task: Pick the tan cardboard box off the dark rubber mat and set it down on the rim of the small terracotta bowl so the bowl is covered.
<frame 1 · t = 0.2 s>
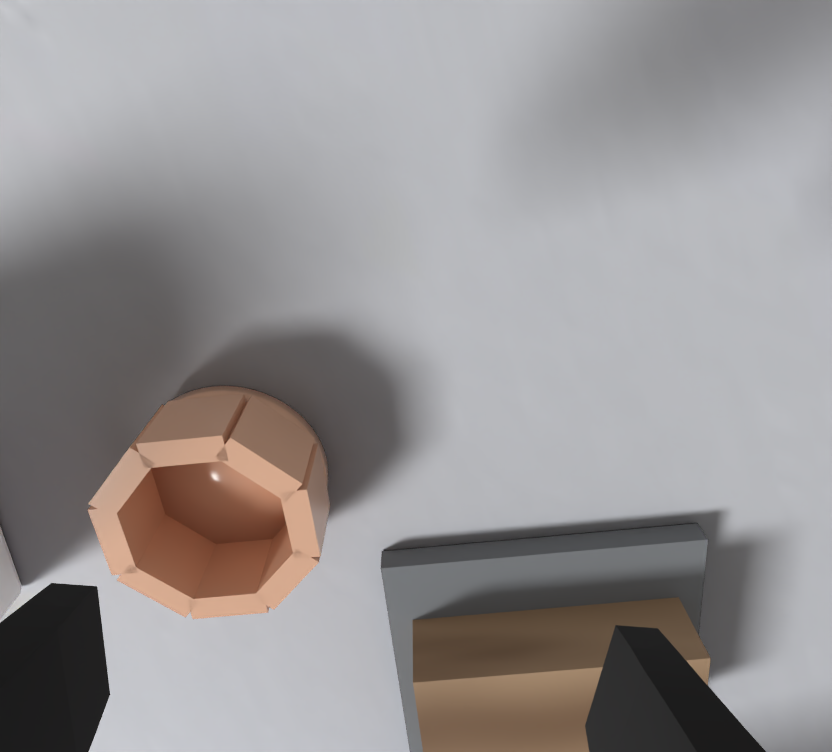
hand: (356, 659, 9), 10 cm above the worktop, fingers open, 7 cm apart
tan cardboard box: (546, 671, 22), point 1 cm above the worktop, touching mat
mat: (542, 652, 23), on the worktop
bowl: (234, 470, 19), on the worktop
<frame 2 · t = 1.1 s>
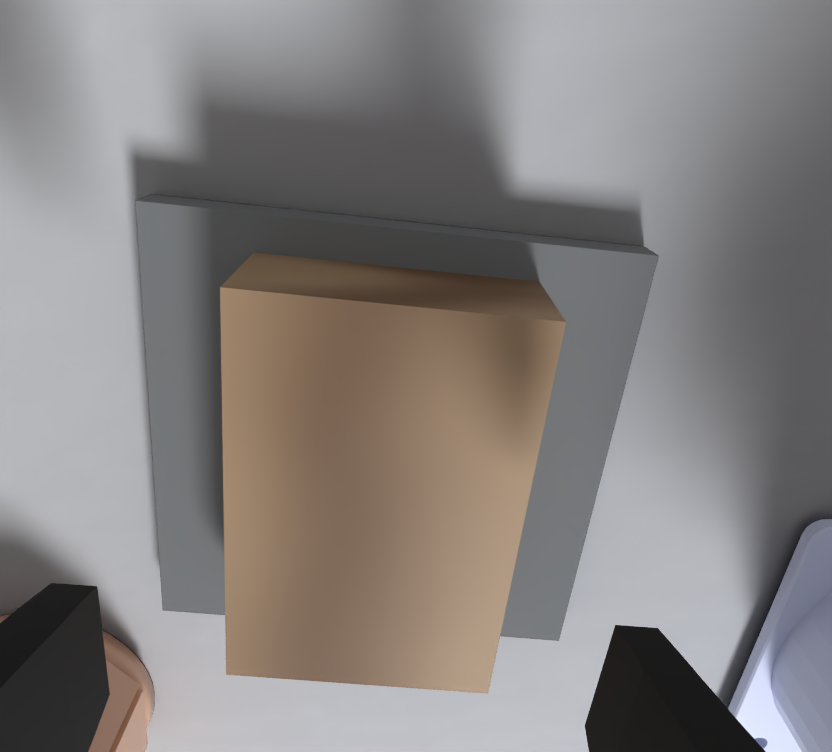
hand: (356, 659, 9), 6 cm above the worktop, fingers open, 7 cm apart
tan cardboard box: (380, 454, 14), point 1 cm above the worktop, touching mat
mat: (381, 437, 15), on the worktop
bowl: (54, 688, 18), on the worktop
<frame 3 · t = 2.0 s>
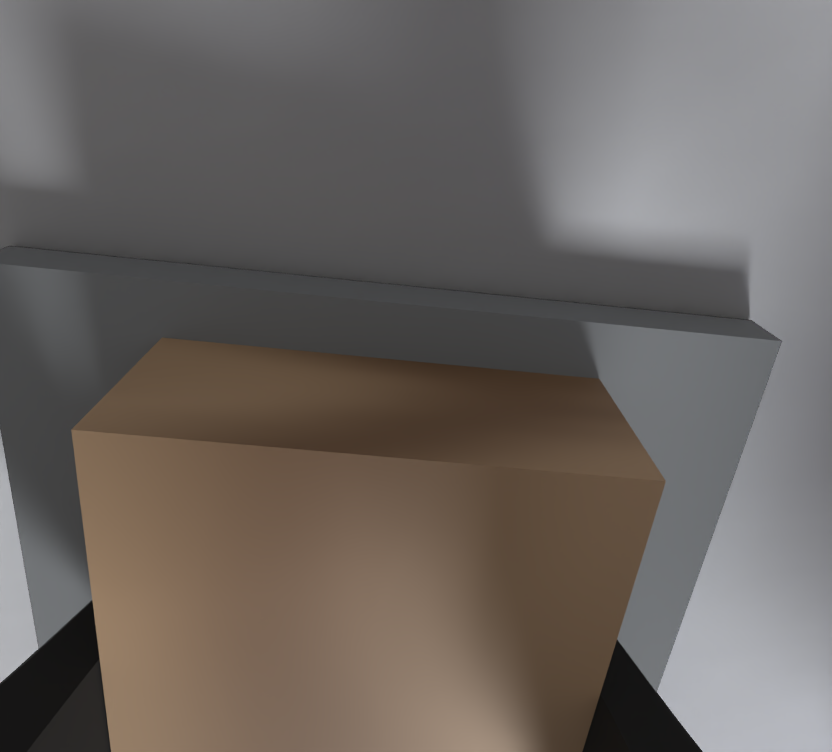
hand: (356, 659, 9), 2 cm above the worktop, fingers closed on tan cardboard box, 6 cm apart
tan cardboard box: (360, 612, 10), point 1 cm above the worktop, touching gripper, mat
mat: (364, 576, 11), on the worktop
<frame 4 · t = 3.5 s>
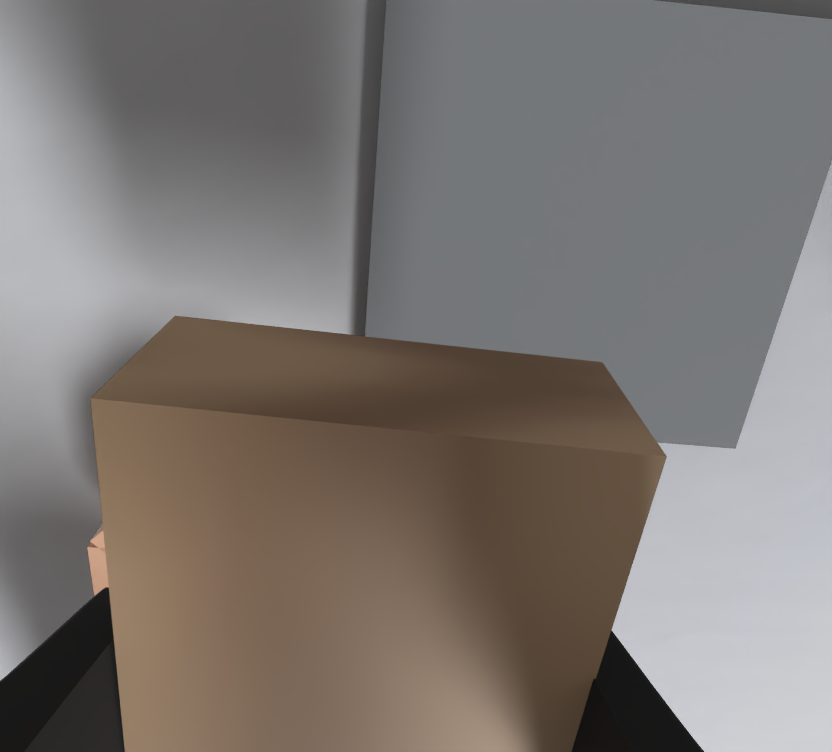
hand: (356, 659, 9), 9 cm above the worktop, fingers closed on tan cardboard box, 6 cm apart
tan cardboard box: (364, 590, 10), point 8 cm above the worktop, touching gripper
mat: (579, 237, 16), on the worktop
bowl: (235, 516, 19), on the worktop
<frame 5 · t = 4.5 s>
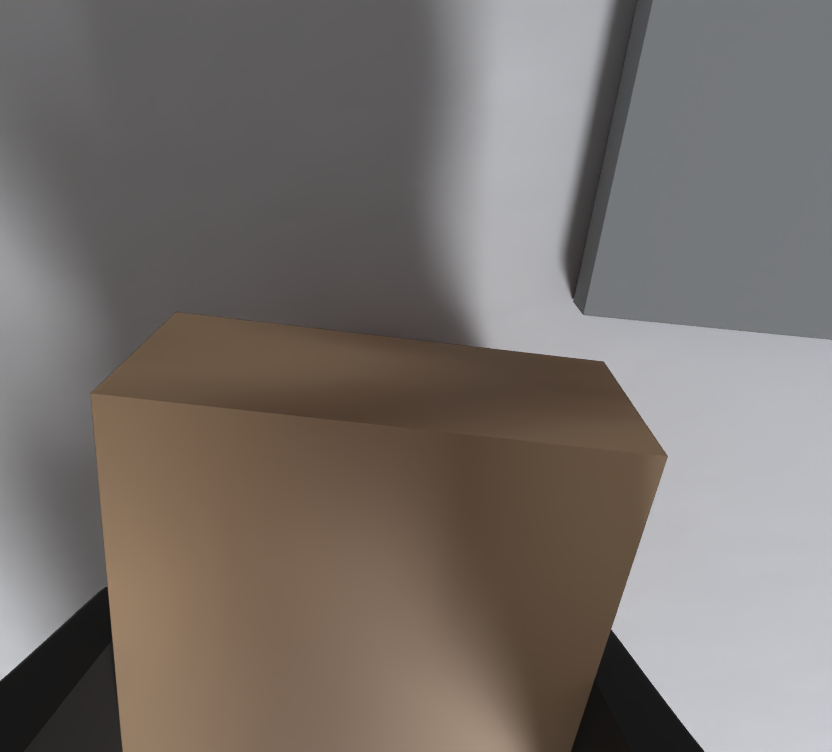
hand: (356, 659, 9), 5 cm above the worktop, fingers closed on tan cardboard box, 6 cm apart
tan cardboard box: (363, 589, 10), point 4 cm above the worktop, touching gripper
when the fingers open (5 cm above the worktop, at t = 5.1 s): tan cardboard box stays where it is, resting on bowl.
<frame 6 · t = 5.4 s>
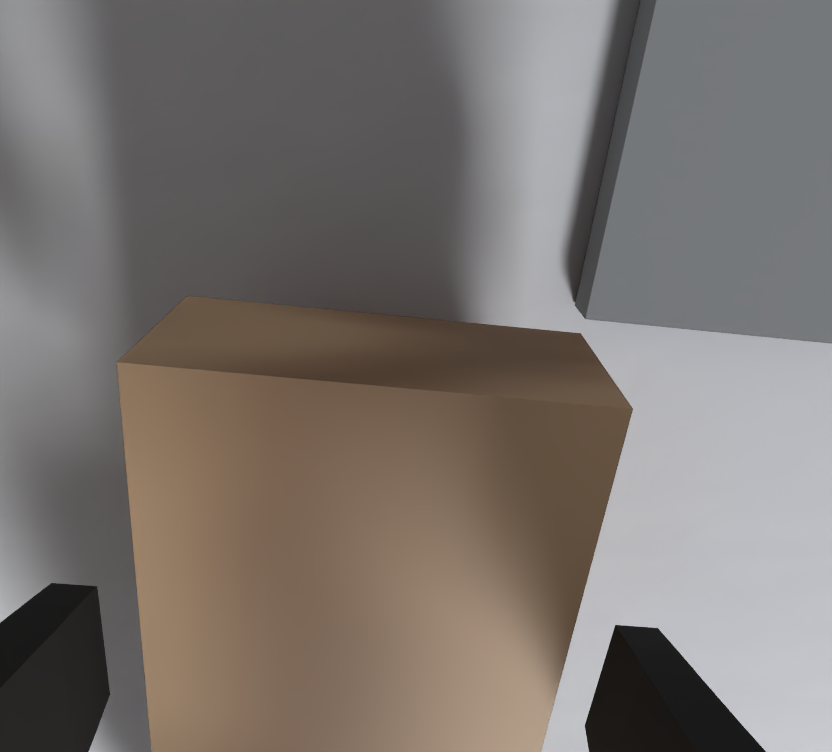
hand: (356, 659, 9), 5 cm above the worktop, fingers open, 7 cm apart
tan cardboard box: (365, 554, 11), point 3 cm above the worktop, touching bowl
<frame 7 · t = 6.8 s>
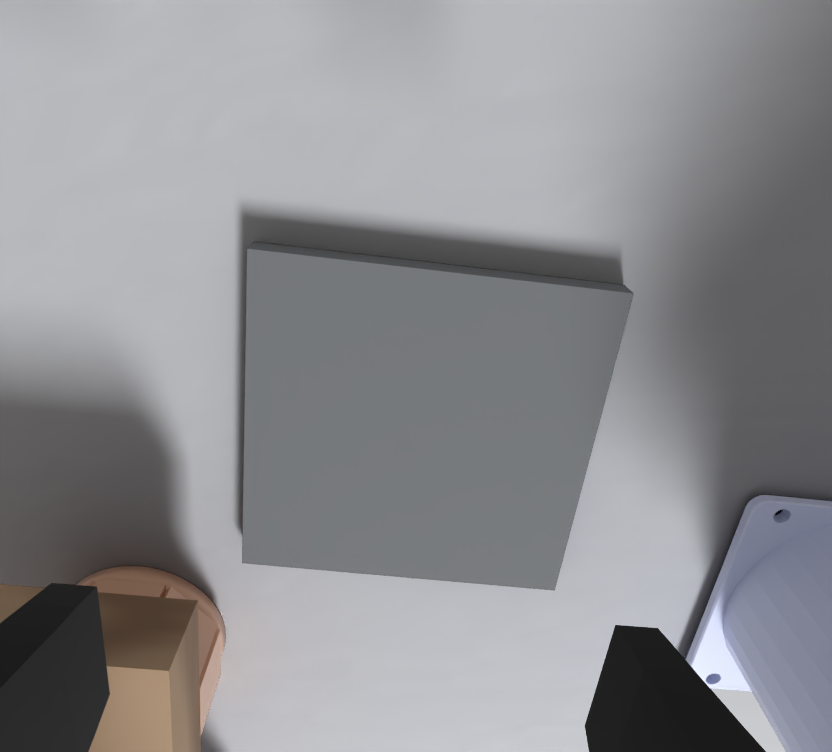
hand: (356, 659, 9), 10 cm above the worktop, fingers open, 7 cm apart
tan cardboard box: (106, 700, 20), point 3 cm above the worktop, touching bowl
mat: (419, 427, 19), on the worktop
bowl: (144, 630, 23), on the worktop
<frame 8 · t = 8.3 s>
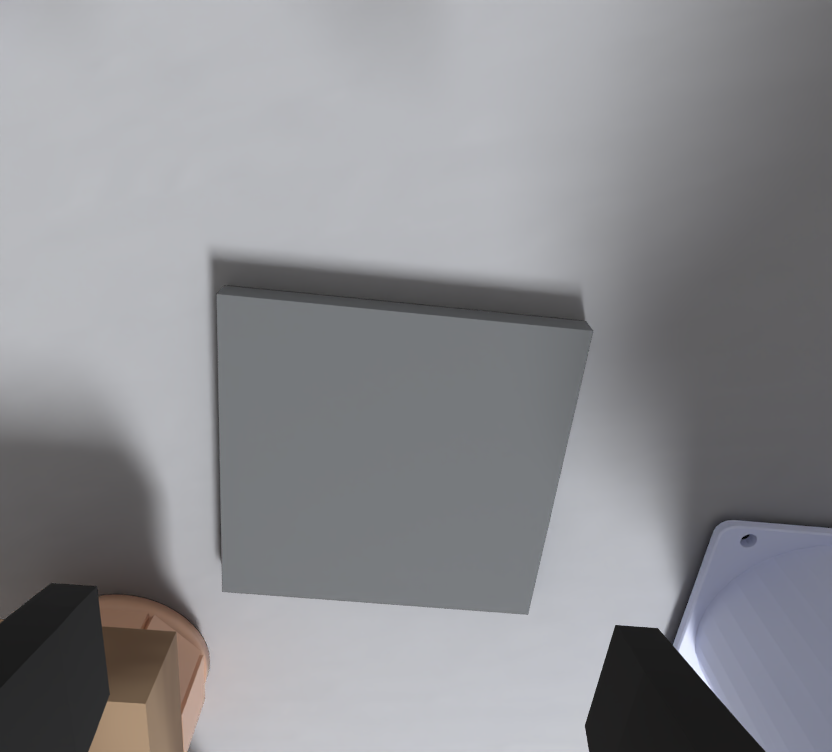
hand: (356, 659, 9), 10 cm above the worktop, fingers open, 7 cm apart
tan cardboard box: (91, 727, 20), point 3 cm above the worktop, touching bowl
mat: (391, 459, 20), on the worktop
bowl: (130, 655, 23), on the worktop
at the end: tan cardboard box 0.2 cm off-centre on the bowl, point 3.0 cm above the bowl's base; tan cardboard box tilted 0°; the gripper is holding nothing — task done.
